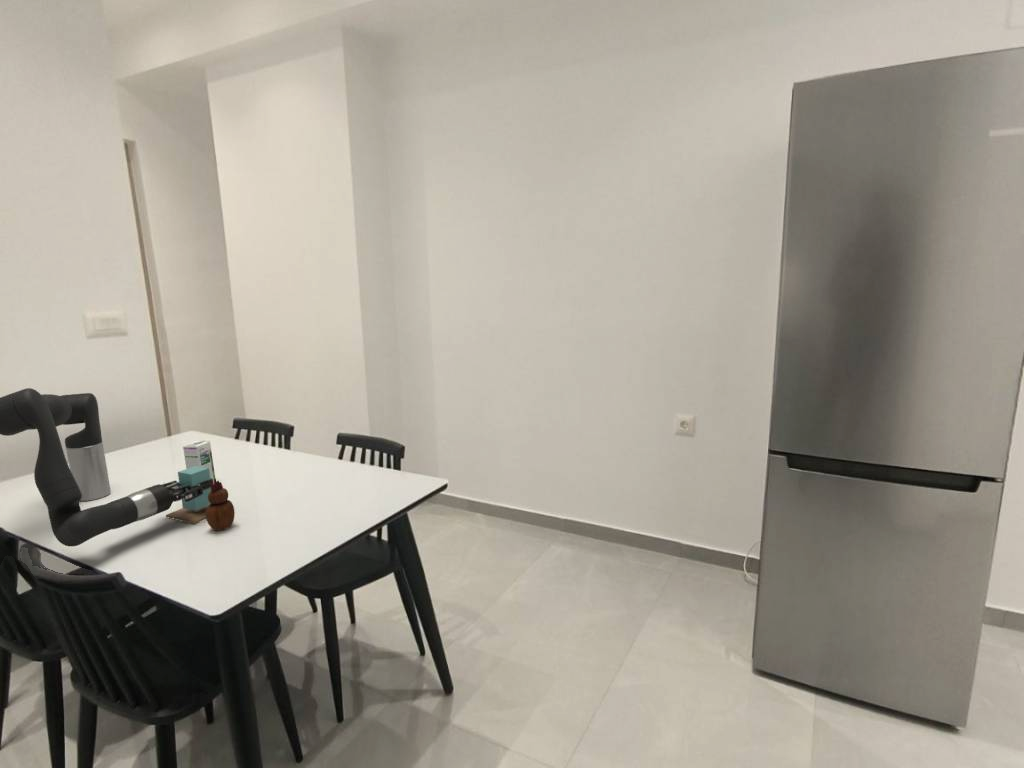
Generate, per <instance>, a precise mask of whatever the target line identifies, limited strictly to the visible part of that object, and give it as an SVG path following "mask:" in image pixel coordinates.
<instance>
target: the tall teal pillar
mask: <svg viewBox="0 0 1024 768" xmlns="http://www.w3.org/2000/svg"><path fill="white" fill-rule="evenodd" d="M177 477H178V482H179V483H180V486H184V485H188V484H189V485H195V484H199V483H202V482H204V481H207V480H210V473H209V468H205V467H199V466H194V467H191V468H188V469H186V468H185V469H183V470H180V471H178V472H177ZM185 489H186V491H188V489H187V488H185ZM192 489H193V488H192ZM210 491H211V488H208V489H205V490H203V495H201V496H198V497H196V498H194V499H192V500H190V501H188V502H185V499H181V503H182V504H181V505H182V508H184V509H189V510H194V511H197V510H200V509H202V508H205V507H207V506H209V505H210V504H211V503H210V502H209V500H208V494H209V492H210Z"/></svg>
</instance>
